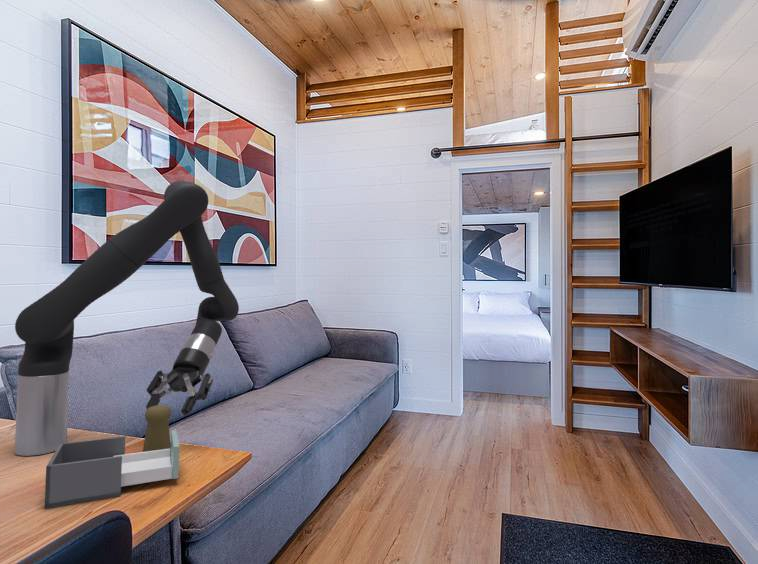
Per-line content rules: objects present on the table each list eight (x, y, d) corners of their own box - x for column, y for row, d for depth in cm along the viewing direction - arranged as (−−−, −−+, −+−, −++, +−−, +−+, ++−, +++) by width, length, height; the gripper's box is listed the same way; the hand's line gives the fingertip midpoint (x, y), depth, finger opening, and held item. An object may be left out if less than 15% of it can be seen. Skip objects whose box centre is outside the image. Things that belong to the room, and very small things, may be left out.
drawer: (175, 458, 92) (176, 429, 92) (178, 478, 82) (179, 446, 82) (113, 466, 86) (114, 436, 87) (108, 489, 77) (109, 455, 77)
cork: (162, 461, 93) (164, 410, 93) (135, 460, 93) (137, 409, 93) (177, 451, 99) (178, 403, 99) (151, 450, 99) (153, 402, 99)
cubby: (124, 470, 88) (125, 435, 88) (120, 496, 77) (121, 456, 77) (58, 480, 83) (59, 443, 83) (44, 509, 72) (46, 466, 72)
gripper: (163, 345, 109) (130, 402, 98) (217, 347, 107) (189, 405, 96) (175, 363, 114) (145, 419, 103) (226, 365, 113) (201, 422, 101)
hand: (166, 412), depth 99 cm, fingers open, 8 cm apart
